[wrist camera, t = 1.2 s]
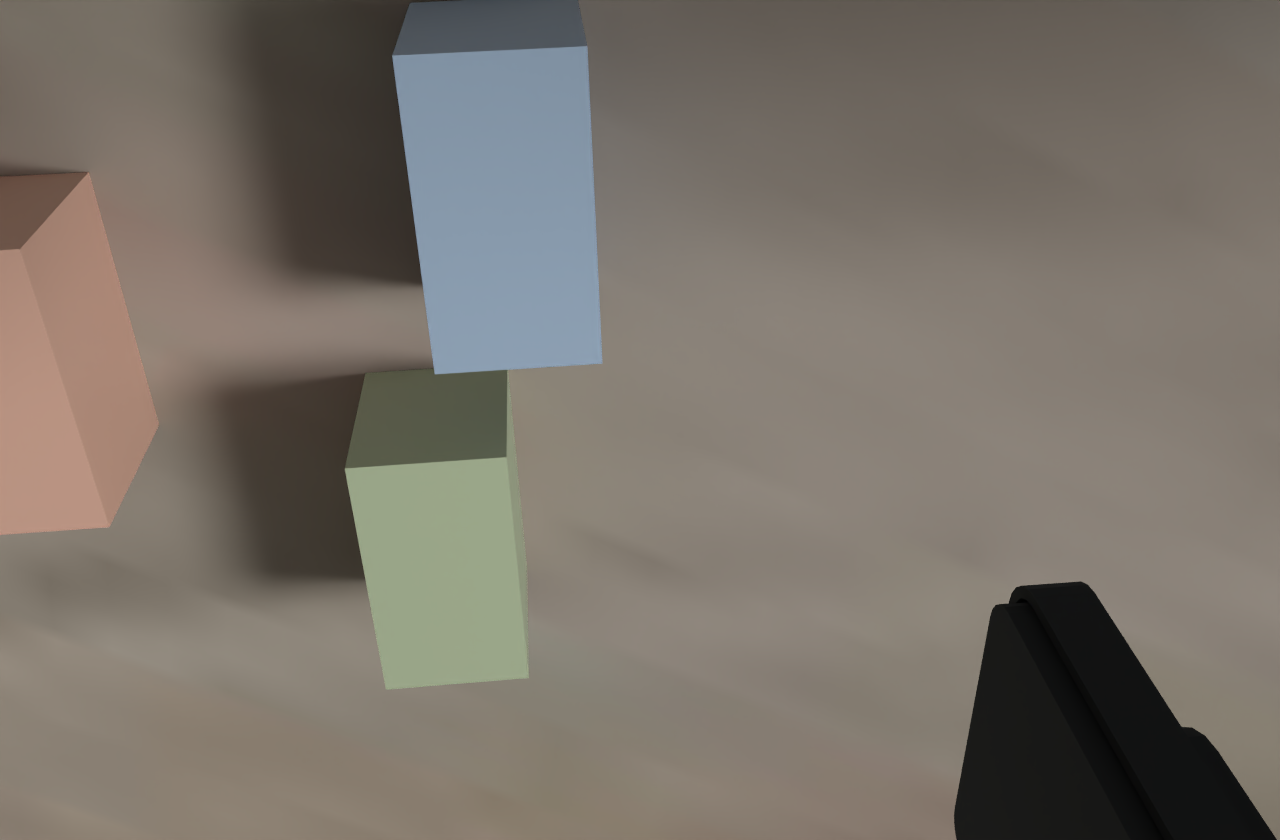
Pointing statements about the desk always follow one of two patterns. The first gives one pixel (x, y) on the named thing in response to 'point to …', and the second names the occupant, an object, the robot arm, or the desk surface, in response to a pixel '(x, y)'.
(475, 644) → the olive brick
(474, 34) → the blue brick
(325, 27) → the desk surface
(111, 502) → the terracotta brick
